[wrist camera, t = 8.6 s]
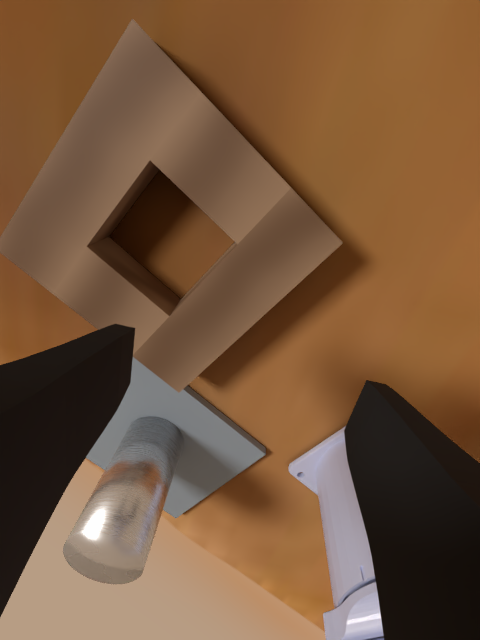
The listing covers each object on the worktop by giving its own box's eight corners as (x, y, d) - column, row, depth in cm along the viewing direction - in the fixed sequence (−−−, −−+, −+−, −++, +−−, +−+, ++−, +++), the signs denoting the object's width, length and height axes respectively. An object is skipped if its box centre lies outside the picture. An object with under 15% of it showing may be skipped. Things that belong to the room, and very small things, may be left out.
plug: (195, 441, 24) (160, 564, 16) (160, 468, 25) (113, 593, 18) (150, 406, 23) (91, 520, 15) (116, 436, 24) (48, 554, 17)
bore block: (334, 233, 18) (343, 243, 16) (188, 369, 22) (179, 393, 20) (153, 40, 15) (132, 18, 13) (26, 238, 19) (-6, 247, 17)
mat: (265, 448, 24) (265, 454, 24) (177, 511, 28) (175, 518, 27) (129, 339, 22) (126, 344, 21) (51, 424, 25) (46, 430, 24)
